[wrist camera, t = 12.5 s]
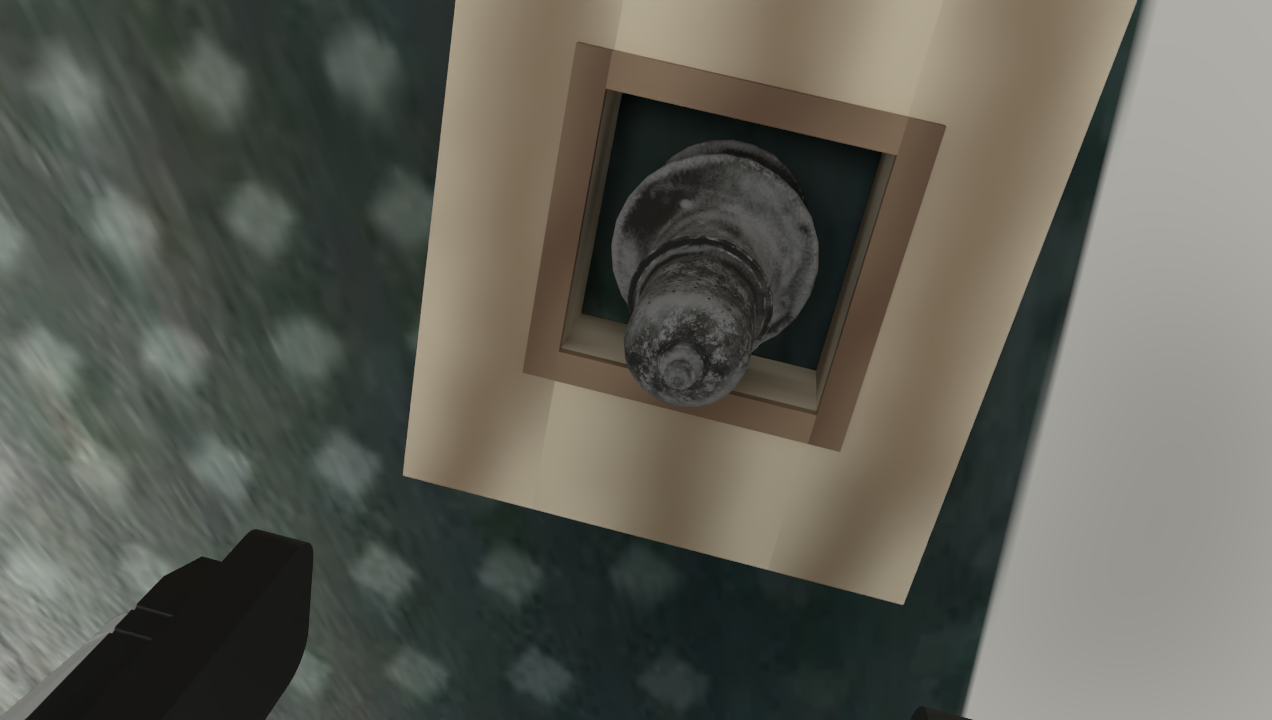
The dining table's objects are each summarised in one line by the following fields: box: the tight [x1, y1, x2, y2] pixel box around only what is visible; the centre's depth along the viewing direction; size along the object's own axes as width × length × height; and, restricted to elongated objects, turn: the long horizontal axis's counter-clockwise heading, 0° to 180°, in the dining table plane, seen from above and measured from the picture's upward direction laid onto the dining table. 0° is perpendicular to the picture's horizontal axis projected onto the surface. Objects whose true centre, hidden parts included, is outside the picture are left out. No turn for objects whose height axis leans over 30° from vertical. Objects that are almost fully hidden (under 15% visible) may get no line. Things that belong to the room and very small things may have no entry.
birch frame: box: [403, 0, 1137, 605], centre depth 30 cm, size 17×20×3 cm
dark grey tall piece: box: [611, 139, 819, 407], centre depth 26 cm, size 6×6×12 cm
